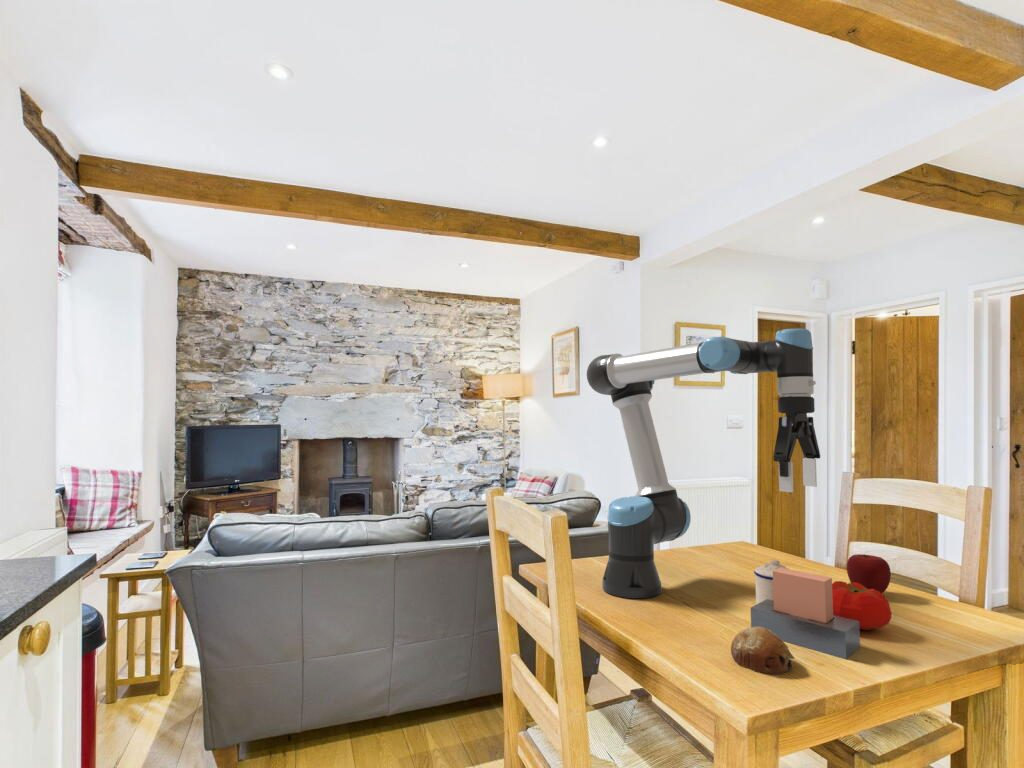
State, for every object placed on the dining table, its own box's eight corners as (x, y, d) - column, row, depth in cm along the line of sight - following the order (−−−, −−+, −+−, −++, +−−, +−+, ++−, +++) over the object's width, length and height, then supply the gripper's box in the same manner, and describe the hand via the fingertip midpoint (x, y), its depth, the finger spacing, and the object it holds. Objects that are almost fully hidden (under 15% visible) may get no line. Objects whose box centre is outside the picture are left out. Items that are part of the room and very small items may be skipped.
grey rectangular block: (751, 631, 118) (750, 607, 118) (767, 622, 123) (766, 599, 123) (846, 659, 104) (845, 631, 104) (860, 647, 110) (859, 621, 110)
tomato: (887, 644, 111) (885, 599, 111) (817, 629, 119) (815, 587, 119) (896, 624, 121) (895, 583, 122) (831, 611, 129) (829, 573, 130)
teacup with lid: (792, 620, 124) (790, 567, 124) (749, 611, 129) (748, 560, 130) (805, 606, 133) (803, 556, 134) (765, 598, 139) (763, 551, 139)
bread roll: (765, 670, 108) (749, 626, 111) (810, 665, 100) (791, 618, 104) (730, 681, 103) (714, 635, 107) (774, 678, 95) (755, 628, 99)
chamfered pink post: (774, 624, 116) (772, 571, 117) (782, 620, 119) (780, 567, 119) (826, 639, 109) (824, 581, 109) (833, 633, 111) (831, 577, 112)
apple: (867, 586, 148) (866, 548, 148) (901, 598, 138) (899, 557, 139) (838, 590, 145) (837, 551, 146) (871, 601, 136) (869, 560, 137)
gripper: (790, 394, 118) (793, 495, 116) (832, 396, 134) (836, 485, 133) (755, 395, 123) (757, 492, 122) (800, 397, 140) (802, 482, 139)
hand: (798, 489), depth 127 cm, fingers open, 13 cm apart
